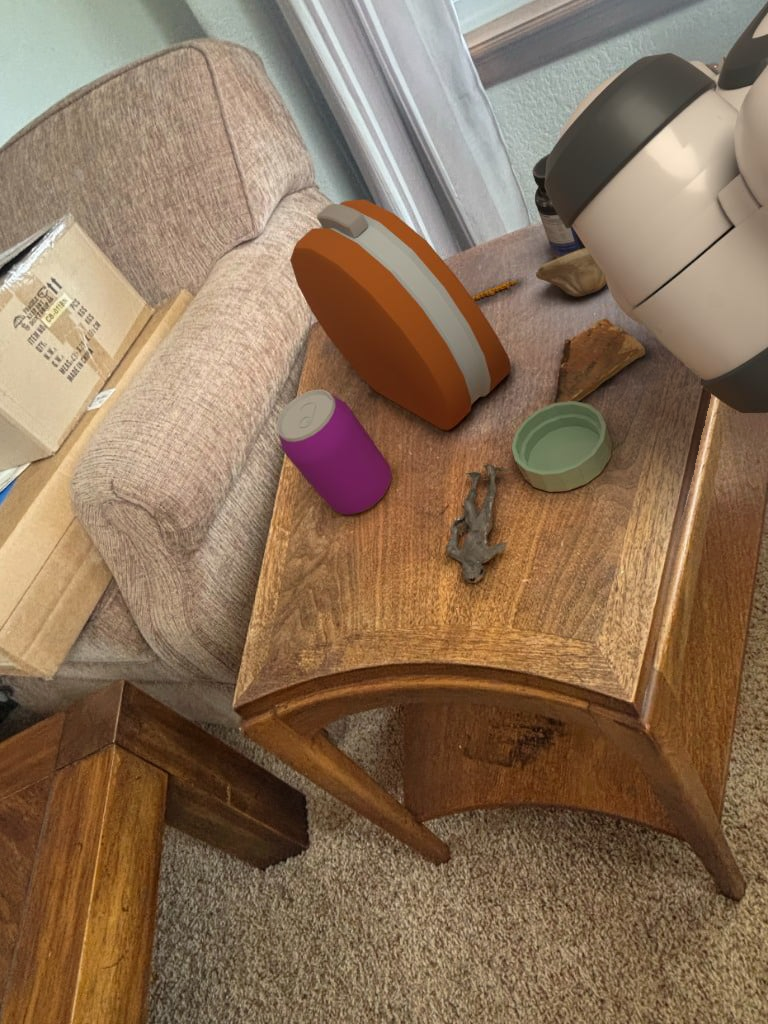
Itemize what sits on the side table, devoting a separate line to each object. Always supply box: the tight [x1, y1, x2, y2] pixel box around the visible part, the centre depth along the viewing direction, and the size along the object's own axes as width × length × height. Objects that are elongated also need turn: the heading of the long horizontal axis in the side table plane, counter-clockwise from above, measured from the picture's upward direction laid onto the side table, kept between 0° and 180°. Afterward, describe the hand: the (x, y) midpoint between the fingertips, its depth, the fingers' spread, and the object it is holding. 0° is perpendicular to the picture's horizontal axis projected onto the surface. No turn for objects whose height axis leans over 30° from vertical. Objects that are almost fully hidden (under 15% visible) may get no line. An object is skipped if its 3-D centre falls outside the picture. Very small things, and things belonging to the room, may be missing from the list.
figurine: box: [445, 462, 507, 584], centre depth 66 cm, size 6×4×12 cm
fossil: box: [535, 248, 607, 297], centre depth 78 cm, size 9×4×10 cm
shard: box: [553, 318, 646, 404], centre depth 73 cm, size 11×8×2 cm
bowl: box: [511, 401, 613, 493], centre depth 67 cm, size 8×8×3 cm
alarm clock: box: [289, 198, 512, 431], centre depth 74 cm, size 22×10×23 cm, turn 39°
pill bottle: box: [532, 153, 586, 260], centre depth 80 cm, size 6×6×11 cm
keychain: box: [471, 280, 517, 301], centre depth 87 cm, size 8×1×1 cm
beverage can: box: [276, 388, 392, 515], centre depth 73 cm, size 8×8×12 cm
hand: (615, 160), depth 77 cm, fingers open, 7 cm apart
